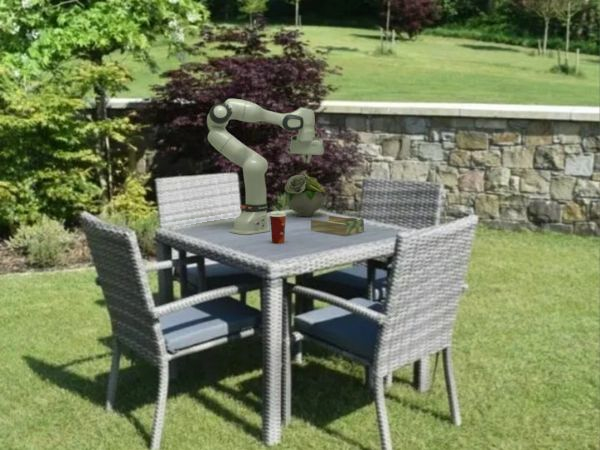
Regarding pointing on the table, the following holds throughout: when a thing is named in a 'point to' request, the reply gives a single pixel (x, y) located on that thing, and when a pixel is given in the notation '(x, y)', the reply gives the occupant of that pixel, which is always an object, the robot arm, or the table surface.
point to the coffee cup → (278, 226)
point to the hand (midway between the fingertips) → (306, 162)
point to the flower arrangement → (304, 194)
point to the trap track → (338, 226)
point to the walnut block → (350, 219)
